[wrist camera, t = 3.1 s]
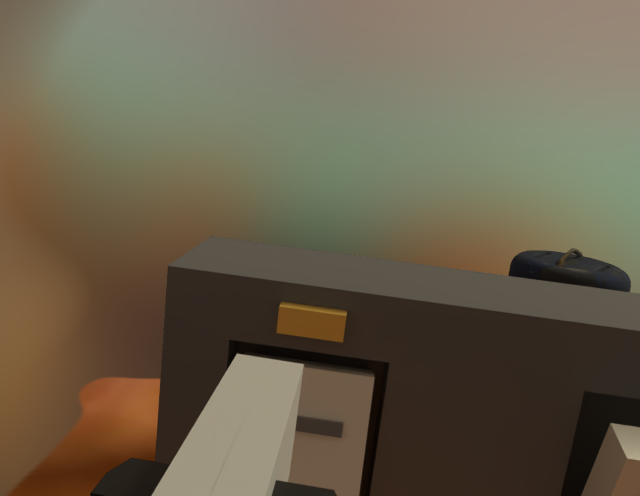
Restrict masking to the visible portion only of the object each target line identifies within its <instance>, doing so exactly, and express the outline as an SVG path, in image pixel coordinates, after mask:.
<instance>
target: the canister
mask: <svg viewBox="0 0 640 496" xmlns="http://www.w3.org/2000/svg"><path fill="white" fill-rule="evenodd" d="M572 253H574V254H576V255H574V254H572ZM509 276H512V277H519V278H527V279H534V280H542V281H549V282H556V283H564V284H571V285H579V286H586V287H594V288H601V289H609V290H616V291H623V292H630V288H631V282H630V279H629V276H628V275H627V274H626V273H625V272H624V271H623V270H621V269H620V268H618V267H616V266H614V265H611V264H609V263H605V262H603V261H599V260H596V259H592V258H588V257H584V256H583V255H582V253H581V252H580V251H579V250H577V249H574V248H572V249H570V250H569V251H568V252H567V253H561V252H554V251H525V252H521V253H519V254H518V255H516V256H515V257H514V259H513V260H512V262H511V265H510V271H509Z"/></svg>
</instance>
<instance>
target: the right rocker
mask: <svg viewBox="0 0 640 496" xmlns="http://www.w3.org/2000/svg"><path fill="white" fill-rule="evenodd" d="M581 496H640V427H634V426H627V425H621V424H614V423H610V426H609V428H608V431H607V433H606V435H605V438H604V440H603V443H602V445H601V448H600V450H599V453H598V455H597V458H596V460H595V463H594V465H593V468H592V470H591V473H590V475H589V478H588V480H587V482H586V485H585V487H584V490H583V492H582V495H581Z"/></svg>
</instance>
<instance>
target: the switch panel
mask: <svg viewBox="0 0 640 496" xmlns="http://www.w3.org/2000/svg"><path fill="white" fill-rule="evenodd" d="M245 352H251V353H258V354H265V355H272V356H278V357H285V358H292V359H299V360H306V361H313V362H320V363H326V364H333V365H340V366H347V367H354V368H361V369H367V370H373V372H374V377H375V378H374V386H373V393H372V401H371V409H370V416H369V424H368V431H367V439H366V446H365V454H364V462H363V469H362V477H361V484H360V492H359V496H581V495H582V492H583V490H584V487H585V485H586V482H587V480H588V478H589V475H590V473H591V470H592V468H593V465H594V463H595V460H596V458H597V455H598V453H599V450H600V448H601V445H602V443H603V440H604V438H605V435H606V433H607V431H608V428H609V426H610V423H614V424H621V425H627V426H634V427H640V294H638V293H631V292H623V291H616V290H609V289H601V288H594V287H586V286H579V285H571V284H564V283H556V282H549V281H542V280H534V279H527V278H519V277H512V276H503V275H497V274H490V273H482V272H474V271H467V270H460V269H451V268H445V267H437V266H430V265H422V264H415V263H407V262H399V261H393V260H385V259H378V258H370V257H363V256H356V255H348V254H341V253H333V252H326V251H318V250H311V249H303V248H296V247H288V246H281V245H273V244H266V243H259V242H251V241H244V240H237V239H229V238H222V237H214V236H211V237H210V238H208V239H207V240H205V241H204V242H202V243H201V244H199V245H198V246H196V247H195V248H194V249H192V250H190V251H189V252H188V253H186V254H185V255H183V256H182V257H180V258H179V259H177V260H176V261H174V262H173V263H171V264H170V265H168V274H167V290H166V304H165V319H164V334H163V350H162V366H161V380H160V395H159V410H158V426H157V441H156V456H155V462H159V463H165V464H171V462H172V461H173V459H174V457H175V456H176V454H177V453H178V451H179V449H180V448H181V446H182V444H183V443H184V441H185V439H186V438H187V436H188V434H189V433H190V431H191V429H192V428H193V426H194V424H195V423H196V421H197V419H198V418H199V416H200V414H201V413H202V411H203V409H204V408H205V406H206V404H207V403H208V401H209V399H210V398H211V396H212V394H213V393H214V391H215V389H216V388H217V386H218V384H219V383H220V381H221V379H222V378H223V376H224V375H225V373H226V371H227V370H228V368H229V366H230V365H231V363H232V361H233V360H234V358H235V356H236V355H237V354H242V355H243V354H244V353H245Z"/></svg>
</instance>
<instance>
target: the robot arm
mask: <svg viewBox="0 0 640 496" xmlns="http://www.w3.org/2000/svg"><path fill="white" fill-rule="evenodd" d="M303 368H304V364H300V363H293V362H287V361H280V360H274V359H268V358H261V357H255V356H249V355H242V354H237V355H236V356H235V358H234V360H233V361H232V363H231V365H230V366H229V368H228V370H227V371H226V373H225V375H224V376H223V378H222V379H221V381H220V383H219V384H218V386H217V388H216V389H215V391H214V393H213V394H212V396H211V398H210V399H209V401H208V403H207V404H206V406H205V408H204V409H203V411H202V413H201V414H200V416H199V418H198V419H197V421H196V423H195V424H194V426H193V428H192V429H191V431H190V433H189V434H188V436H187V438H186V439H185V441H184V443H183V444H182V446H181V448H180V449H179V451H178V453H177V454H176V456H175V457H174V459H173V461H172V462H171V464H165V463H159V462H153V461H147V460H141V459H135V458H130V459H128V460H127V461H125V462H124V463H122V464H120V465H119V466H117V467H115V468H114V469H112V470H110V471H109V472H107V473H106V474H105V475H104V477H103V478H102V479H101V480H100V482H99V483H98V484H97V486H96V487H95V488H94V490H93V491H92V492H91V494H90V496H337V495H336V493H335V491H334V490H332V489H326V488H320V487H314V486H308V485H302V484H296V483H290V482H288V479H289V474H290V466H291V459H292V451H293V443H294V436H295V428H296V421H297V413H298V406H299V398H300V390H301V383H302V375H303Z"/></svg>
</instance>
